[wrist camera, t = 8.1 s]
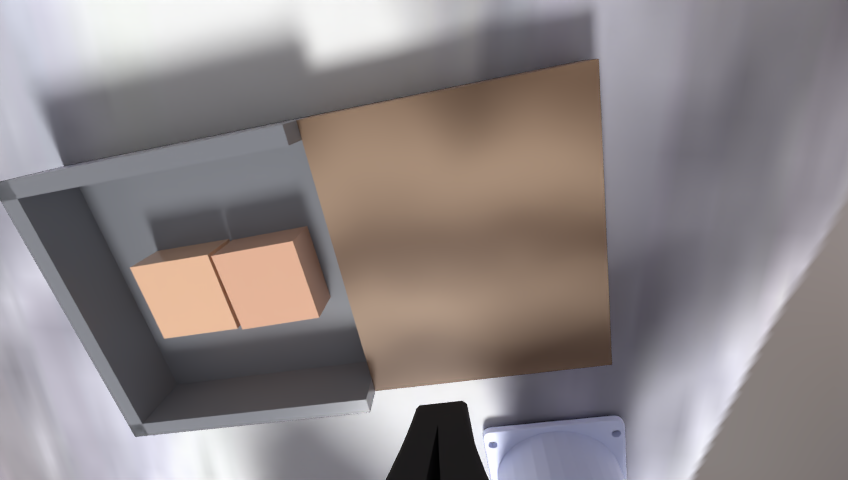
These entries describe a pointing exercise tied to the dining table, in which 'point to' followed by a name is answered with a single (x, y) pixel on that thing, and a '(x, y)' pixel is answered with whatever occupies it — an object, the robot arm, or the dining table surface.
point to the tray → (177, 227)
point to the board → (471, 226)
